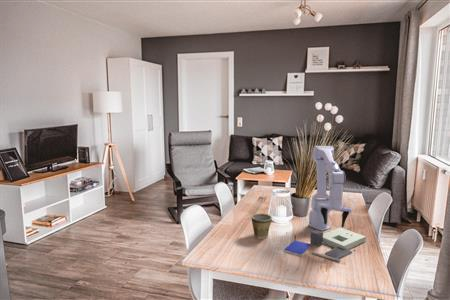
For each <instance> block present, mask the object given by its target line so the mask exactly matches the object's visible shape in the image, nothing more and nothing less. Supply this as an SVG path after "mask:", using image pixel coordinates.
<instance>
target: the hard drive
mask: <svg viewBox="0 0 450 300" xmlns="http://www.w3.org/2000/svg"><path fill="white" fill-rule="evenodd" d="M311 247H312V244H310V243H308V242H303V241H301V240H297V239H295V240H293V241H292V242H291V243H290V244H289V245H287V246H286V247H285V248H284V249H283V252H285V253H288V254H291V255H296V256H298V257H302V256H303V255H304V254H305V253H306V252H307V251H308V250H309V249H310V248H311Z"/></svg>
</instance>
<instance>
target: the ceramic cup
mask: <svg viewBox="0 0 450 300" xmlns="http://www.w3.org/2000/svg"><path fill="white" fill-rule="evenodd" d="M272 219H273V218H272V216H271V215H269V214H266V213H255V214H253V215H251V224H252V228H253V236H254V238H257V239H258V238H259V240H264V239H267V238H268V235H269V230H270V226H271V224H272Z"/></svg>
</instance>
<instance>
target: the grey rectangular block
mask: <svg viewBox="0 0 450 300" xmlns="http://www.w3.org/2000/svg"><path fill="white" fill-rule="evenodd" d="M323 234H324V232H323V231H321V230H318V229H314V230H312V231H310V237H309V239H310V243H309V244H311V246H314V247H318V248H319V247H321V246H322V245H323V244H324V243H323Z"/></svg>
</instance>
